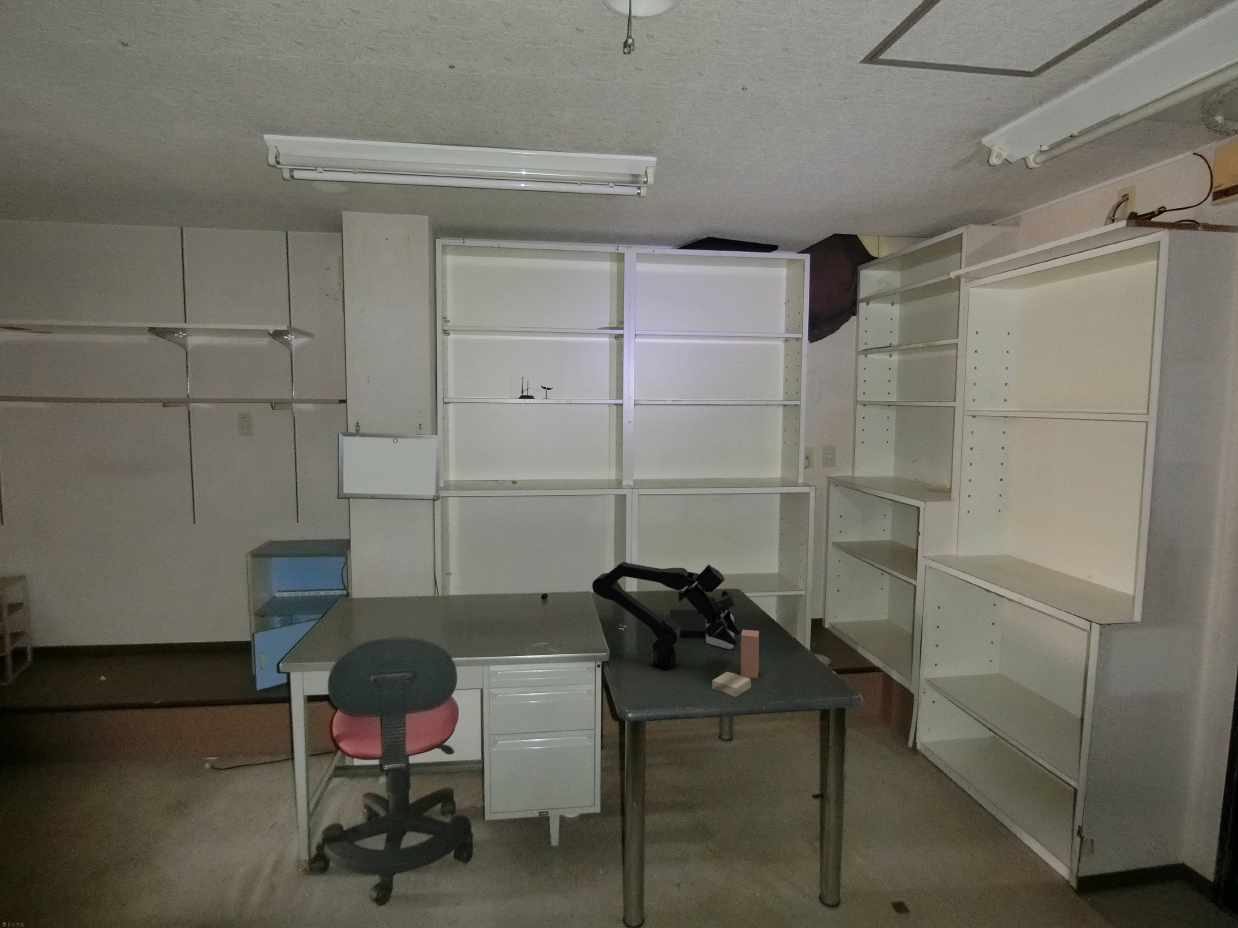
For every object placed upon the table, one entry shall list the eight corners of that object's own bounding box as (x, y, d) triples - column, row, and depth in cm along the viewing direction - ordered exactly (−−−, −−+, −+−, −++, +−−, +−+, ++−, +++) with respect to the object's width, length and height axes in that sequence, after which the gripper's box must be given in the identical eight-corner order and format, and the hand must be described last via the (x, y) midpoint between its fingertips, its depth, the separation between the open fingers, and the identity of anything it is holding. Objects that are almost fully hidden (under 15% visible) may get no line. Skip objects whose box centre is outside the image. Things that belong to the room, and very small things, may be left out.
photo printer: (703, 643, 220) (704, 608, 219) (711, 639, 223) (711, 605, 222) (729, 650, 213) (729, 615, 212) (736, 647, 216) (736, 611, 215)
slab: (712, 690, 184) (712, 680, 184) (727, 680, 190) (727, 671, 190) (736, 698, 179) (736, 688, 179) (750, 688, 185) (750, 678, 185)
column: (740, 676, 192) (741, 635, 191) (742, 669, 197) (742, 629, 196) (757, 678, 191) (758, 636, 190) (758, 671, 196) (758, 630, 195)
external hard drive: (669, 638, 226) (669, 630, 225) (670, 617, 249) (670, 609, 248) (709, 639, 224) (709, 631, 224) (706, 617, 247) (706, 610, 247)
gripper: (716, 593, 185) (754, 633, 183) (723, 576, 203) (758, 612, 201) (689, 617, 188) (727, 656, 186) (698, 599, 206) (733, 634, 204)
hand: (737, 638), depth 194 cm, fingers open, 9 cm apart
